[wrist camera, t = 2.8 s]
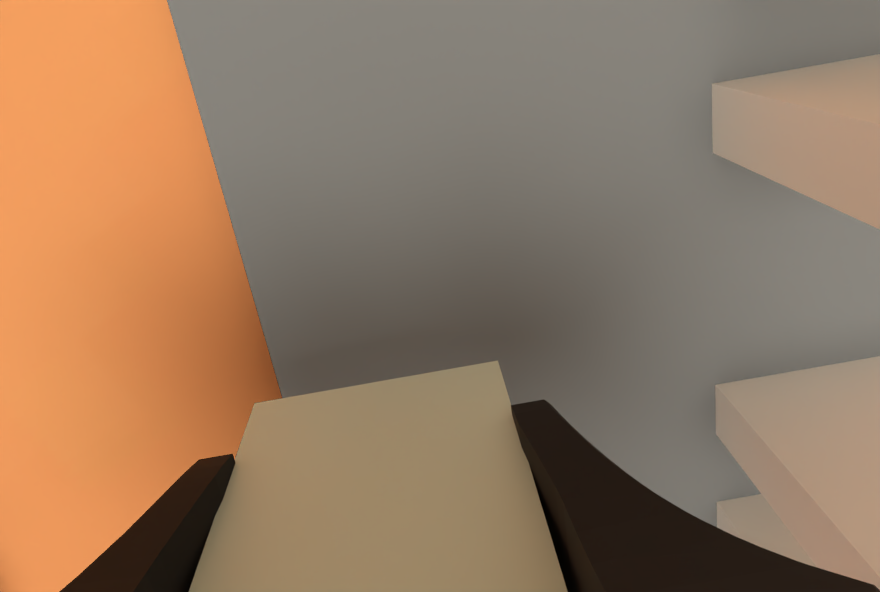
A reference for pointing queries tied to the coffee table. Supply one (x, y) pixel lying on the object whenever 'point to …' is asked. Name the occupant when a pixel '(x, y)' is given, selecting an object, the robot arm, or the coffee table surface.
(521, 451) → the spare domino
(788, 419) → the domino
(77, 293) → the coffee table surface
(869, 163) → the domino
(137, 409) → the coffee table surface
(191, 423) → the coffee table surface
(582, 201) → the mat
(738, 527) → the domino
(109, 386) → the coffee table surface
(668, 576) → the robot arm
